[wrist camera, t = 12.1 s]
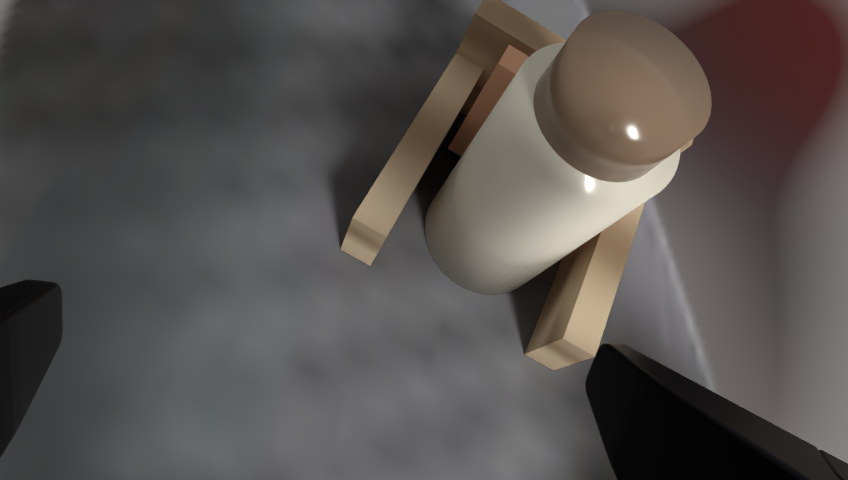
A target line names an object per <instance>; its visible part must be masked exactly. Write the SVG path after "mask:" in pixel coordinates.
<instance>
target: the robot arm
mask: <svg viewBox="0 0 848 480" xmlns="http://www.w3.org/2000/svg"><path fill="white" fill-rule="evenodd" d="M61 338H62V292H61V288H60V286H59V285H58V284H57V283H54V282H47V281H38V280H24V281H20V282H17V283H14V284H11V285H7V286H4V287H1V288H0V457H1V455H2V454H3V452H4V451H5V449H6V448H7V446H8V444H9V443H10V441H11V440H12V438H13V436H14V435H15V433H16V431H17V429H18V427H19V425H20V424H21V422H22V420H23V418H24V416H25V414H26V412H27V410H28V408H29V406H30V404H31V402H32V400H33V398H34V396H35V394H36V392H37V390H38V388H39V386H40V384H41V382H42V380H43V378H44V376H45V374H46V372H47V370H48V368H49V366H50V364H51V362H52V360H53V358H54V356H55V354H56V352H57V350H58V348H59V345H60V342H61ZM586 393H587V396H588V399H589V402H590V405H591V408H592V411H593V414H594V417H595V420H596V423H597V426H598V429H599V432H600V435H601V438H602V441H603V444H604V447H605V450H606V453H607V456H608V459H609V461H610V464H611V467H612V469H613V471H614V474H615V476H616V479H617V480H848V464H847V463H845V462H843V461H841V460H840V459H838V458H836V457H834V456H832V455H830V454H828V453H826V452H825V451H823V450H818V449H817V448H816V447H815V446H813V445H811V444H809V443H808V442H806V441H804V440H802V439H800V438H798V437H796V436H795V435H793V434H791V433H789V432H787V431H785V430H783V429H781V428H780V427H777V426H776V425H774V424H772V423H770V422H768V421H766V420H765V419H763V418H761V417H759V416H757V415H755V414H753V413H751V412H750V411H748V410H746V409H744V408H742V407H740V406H738V405H737V404H735V403H733V402H731V401H729V400H727V399H725V398H723V397H722V396H720V395H718V394H716V393H714V392H712V391H710V390H709V389H707V388H705V387H703V386H701V385H699V384H697V383H695V382H694V381H692V380H690V379H688V378H686V377H684V376H682V375H680V374H679V373H677V372H675V371H673V370H671V369H669V368H667V367H666V366H664V365H662V364H660V363H658V362H656V361H654V360H652V359H651V358H649V357H647V356H645V355H643V354H641V353H639V352H638V351H636V350H634V349H632V348H630V347H628V346H626V345H623V344H616V343H604V344H602V345H601V346H600V347H599V348H598V350H597V353H596V355H595V358H594V360H593V363H592V365H591V368H590V371H589V373H588V376H587V379H586Z"/></svg>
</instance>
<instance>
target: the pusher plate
mask: <svg viewBox="0 0 848 480" xmlns="http://www.w3.org/2000/svg"><path fill="white" fill-rule="evenodd" d="M527 58H529V56H527V55H526V54H524V53H522V52H521V51H519V50H517V49H516V48H514V47H512V46H511V45H509V46H508V47H507V49H506V51H505V52H504V54H503V56H502V57H501V59H500V61H499V62H498V64H497V66H496V67H495V69H494V71H493V72H492V74H491V76H490V78H489V79H488V81H487V83H486V84H485V86H484V88H483V89H482V91H481V93H480V94H479V96H478V98H477V99H476V101H475V103H474V104H473V106H472V108H471V109H470V111H469V113H468V115H467V116H466V118H465V120H464V121H463V123H462V125H461V126H460V128H459V130H458V131H457V133H456V135H455V137H454V138H453V140H452V142H451V144H450V145H449V147H448V149H449V150H451V151H452V152H454V153H456V154H457V155H459V156H461V157H462V155H463V154H464V152H465V151H466V149H467V148H468V146H469V145H470V143H471V142H472V140H473V139H474V137H475V136H476V134H477V132H478V131H479V129H480V128H481V126H482V125H483V123H484V122H485V120H486V119H487V117H488V116H489V114H490V113H491V111H492V110H493V108H494V107H495V105H496V104H497V102H498V101H499V99H500V98H501V96H502V95H503V93H504V92H505V90H506V88H507V87H508V85H509V84H510V82H511V81H512V79H513V78H514V76H515V75H516V73H517V72H518V70H519V69H520V67H521V66H522V65H523V63H524V62H525V61H526V59H527Z"/></svg>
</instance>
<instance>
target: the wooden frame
mask: <svg viewBox="0 0 848 480" xmlns="http://www.w3.org/2000/svg"><path fill="white" fill-rule="evenodd" d="M563 42H566V40H564V39H563V38H561V37H560V36H558V35H556V34H555V33H553V32H551V31H550V30H548V29H546V28H545V27H543V26H542V25H540V24H538V23H537V22H535V21H533V20H532V19H530V18H528V17H527V16H525V15H524V14H522V13H520V12H519V11H517V10H515V9H514V8H512V7H510V6H509V5H507V4H506V3H504V2H502V1H501V0H483V2H482V3H481V5H480V6H479V8H478V10H477V11H476V13H475V15H474V17H473V19H472V21H471V23H470V25H469V27H468V29H467V31H466V33H465V35H464V38H463V40H462V42H461V44H460V46H459V48H458V50H457V52H456V54H455V56H454V57H453V59H452V60H451V62H450V63H449V65H448V67H447V68H446V70H445V71H444V73H443V75H442V76H441V78H440V79H439V81H438V83H437V84H436V86H435V87H434V89H433V90H432V92H431V94H430V95H429V97H428V98H427V100H426V102H425V103H424V105H423V106H422V108H421V110H420V111H419V113H418V114H417V116H416V117H415V119H414V121H413V122H412V124H411V125H410V127H409V129H408V130H407V132H406V133H405V135H404V137H403V138H402V140H401V141H400V143H399V144H398V146H397V148H396V149H395V151H394V152H393V154H392V156H391V157H390V159H389V160H388V162H387V163H386V165H385V167H384V168H383V170H382V171H381V173H380V175H379V176H378V178H377V179H376V181H375V183H374V184H373V186H372V187H371V189H370V190H369V192H368V194H367V195H366V197H365V198H364V200H363V202H362V203H361V205H360V206H359V208H358V210H357V211H356V213H355V214H354V216H353V218H352V220H351V223H350V226H349V228H348V231H347V233H346V236H345V239H344V241H343V244H342V247H341V250H343V251H344V252H346V253H348V254H350V255H351V256H353V257H355V258H357V259H358V260H360V261H362V262H364V263H365V264H367V265H369V266H371V264H372V262H373V260H374V259H375V257H376V255H377V254H378V252H379V250H380V248H381V247H382V245H383V243H384V241H385V240H386V238H387V236H388V235H389V233H390V231H391V229H392V228H393V226H394V224H395V223H396V221H397V219H398V217H399V216H400V214H401V212H402V210H403V209H404V207H405V205H406V204H407V202H408V200H409V198H410V197H411V195H412V193H413V192H414V190H415V188H416V186H417V185H418V183H419V181H420V179H421V178H422V176H423V174H424V173H425V171H426V169H427V167H428V166H429V164H430V162H431V161H432V159H433V157H434V155H435V154H436V152H437V150H438V148H439V147H440V145H441V143H442V142H443V140H444V138H445V136H446V135H447V133H448V131H449V130H450V128H451V126H452V124H453V123H454V121H455V119H456V117H457V116H458V114H459V112H460V113H461V114H463V115H465V116H467V115H468V113H469V111H470V109H471V108H472V106H473V104H474V103H475V101H476V99H477V98H478V96H479V94H480V93H481V91H482V89H483V88H484V86H485V84H486V83H487V81H488V79H489V78H490V76H491V74H492V72H493V71H494V69H495V67H496V66H497V64H498V62H499V61H500V59H501V57H502V56H503V54H504V52H505V51H506V49H507V47H508V46H509V45H511V46H512V47H514V48H516V49H517V50H519V51H521V52H522V53H524V54H526V55H527V56H529V57H530V56H531V55H532V54H533V53H535V52H536V51H538V50H539V49H541V48H543V47H546V46H548V45H552V44H556V43H563ZM692 141H693V139H692V140H690V141H689V142H688V143H686V144H685V145H684V146H682V147H681V148H680V153H681V152H683V151H684V150H685V149H687V148H688V147H689V146H691V145H692ZM644 204H645V202H644V203H643V204H641V205H640V206H638V207H637V208H635V209H634V210H632V211H631V212H629V213H628V214H626V215H625V216H623V217H622V218H620V219H619V220H618V221H616V222H615V223H613V224H612V225H610V226H609V227H607V228H606V229H604V230H603V231H601V232H600V233H598V234H597V235H595V236H594V237H593V238H591V239H590V240H588V241H587V242H585V243H584V244H582V245H581V246H579V247H578V248H576V249H575V250H573V251H572V252H570V253H569V254H568V255H566V256H565V257H563V258H562V259H561V262H560V265H559V267H558V270H557V272H556V275H555V278H554V280H553V283H552V285H551V288H550V290H549V293H548V296H547V298H546V301H545V303H544V306H543V308H542V311H541V314H540V316H539V319H538V321H537V324H536V326H535V329H534V332H533V334H532V337H531V339H530V342H529V344H528V347H527V350H526V352H525V355H527V356H528V357H530V358H532V359H534V360H535V361H537V362H539V363H541V364H542V365H544V366H546V367H548V368H549V369H551V370H556V369H559V368H562V367H566V366H569V365H572V364H575V363H578V362H581V361H584V360H587V359H590V358H594V357H595V355H596V353H597V350H598V347H599V344H600V341H601V338H602V335H603V332H604V329H605V325H606V322H607V319H608V316H609V313H610V310H611V307H612V304H613V301H614V297H615V294H616V291H617V288H618V285H619V282H620V279H621V276H622V273H623V269H624V266H625V263H626V260H627V257H628V254H629V251H630V248H631V245H632V241H633V238H634V235H635V232H636V229H637V226H638V223H639V220H640V217H641V213H642V210H643V207H644Z"/></svg>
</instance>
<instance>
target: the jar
mask: <svg viewBox="0 0 848 480" xmlns="http://www.w3.org/2000/svg"><path fill="white" fill-rule="evenodd" d="M710 113H711V93H710V88H709V84H708V81H707V78H706V76H705V74H704V71H703V70H702V68H701V66H700V64H699V62H698V61H697V59H696V58H695V57H694V55H693V54H692V53H691V51H690V50H689V49H688V48H687V47H686V46H685V45H684V44H683V43H682V41H681V40H679V39H678V38H677V37H676V36H675V35H674V34H673V33H671V32H670V31H669V30H667V29H666V28H664V27H663V26H661V25H660V24H658V23H656V22H654V21H652V20H650V19H648V18H646V17H643V16H641V15H638V14H635V13H631V12H626V11H618V10H610V11H602V12H597V13H595V14H592V15H590V16H588V17H587V18H585V19H584V20H583V21H582V22H581V23H580V24H579V25H578V26H577V27H576V29H575V30H574V32H573V33H572V34H571V36H570V37H569V38H568V40H567V41H566V42H563V43H556V44H552V45H548V46H546V47H543V48H541V49H539V50H538V51H536V52H535V53H533V54H532V55H531V56H530V57H529V58H527V59H526V61H525V62H524V63H523V65H522V66H521V67H520V69H519V70H518V72H517V73H516V75H515V76H514V78H513V79H512V81H511V82H510V84H509V85H508V87H507V88H506V90H505V92H504V93H503V95H502V96H501V98H500V99H499V101H498V102H497V104H496V105H495V107H494V108H493V110H492V111H491V113H490V114H489V116H488V117H487V119H486V120H485V122H484V123H483V125H482V126H481V128H480V129H479V131H478V132H477V134H476V136H475V137H474V139H473V140H472V142H471V143H470V145H469V146H468V148H467V149H466V151H465V152H464V154H463V155H462V157H461V158H460V160H459V161H458V163H457V164H456V166H455V167H454V169H453V170H452V172H451V173H450V175H449V177H448V178H447V180H446V181H445V183H444V184H443V186H442V187H441V189H440V190H439V192H438V193H437V195H436V196H435V198H434V199H433V201H432V203H431V204H430V206H429V209H428V211H427V214H426V219H425V237H426V242H427V246H428V249H429V251H430V254H431V256H432V258H433V260H434V261H435V263H436V264H437V266H438V267H439V268H440V269H441V271H442V272H443V273H444V274H445V275H446V276H447V277H448V278H449V279H451V280H452V281H453V282H455V283H456V284H458V285H459V286H461V287H463V288H465V289H467V290H470V291H472V292H476V293H479V294H486V295H498V294H504V293H508V292H511V291H513V290H515V289H517V288H519V287H520V286H522V285H523V284H525V283H526V282H528V281H529V280H531V279H532V278H534V277H535V276H537V275H538V274H540V273H541V272H543V271H544V270H545V269H547V268H548V267H550V266H551V265H553V264H554V263H556V262H557V261H559V260H560V259H562V258H563V257H565V256H566V255H568V254H569V253H570V252H572V251H573V250H575V249H576V248H578V247H579V246H581V245H582V244H584V243H585V242H587V241H588V240H590V239H591V238H593V237H594V236H595V235H597V234H598V233H600V232H601V231H603V230H604V229H606V228H607V227H609V226H610V225H612V224H613V223H615V222H616V221H618V220H619V219H620V218H622V217H623V216H625V215H626V214H628V213H629V212H631V211H632V210H634V209H635V208H637V207H638V206H640V205H641V204H643V203H644V202H646V201H647V200H648V199H650V198H651V197H653V196H654V195H656V194H657V193H659V192H660V191H661V190H663V188H665V187H666V186H667V184H668V183H669V182H670V181H671V179H672V178H673V176H674V174H675V172H676V169H677V166H678V163H679V157H680V148H681V147H682V146H684V145H685V144H686V143H688V142H689V141H690V140H692V139H693V138H694V137H696V136H697V135H698V134H699V133H700V132H701V131H702V130H703V129H704V127H705V126H706V124H707V122H708V120H709V116H710Z"/></svg>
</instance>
